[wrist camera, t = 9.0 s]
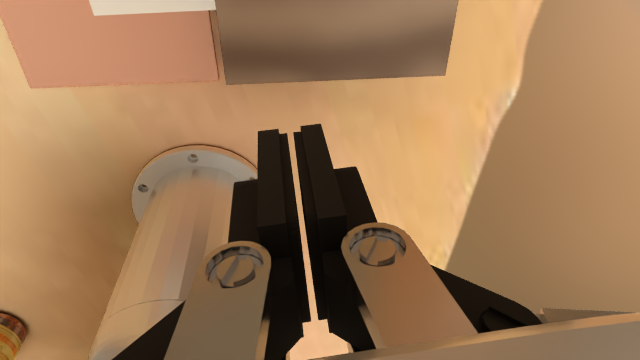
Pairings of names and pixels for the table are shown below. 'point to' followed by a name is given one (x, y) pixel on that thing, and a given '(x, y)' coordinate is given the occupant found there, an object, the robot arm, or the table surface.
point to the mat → (107, 45)
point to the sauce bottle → (10, 336)
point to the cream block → (148, 6)
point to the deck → (333, 39)
